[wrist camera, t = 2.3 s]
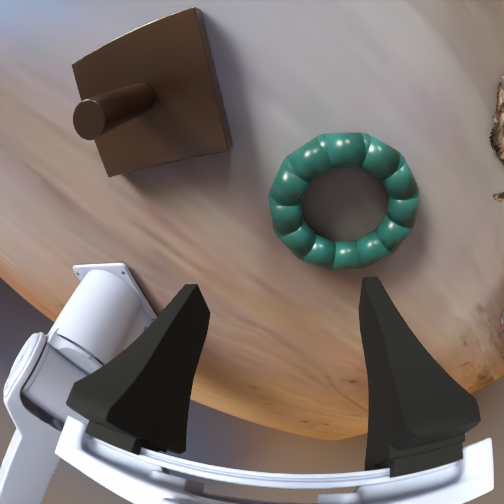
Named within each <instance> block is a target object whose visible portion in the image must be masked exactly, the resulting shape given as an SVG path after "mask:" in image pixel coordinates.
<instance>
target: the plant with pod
mask: <svg viewBox="0 0 504 504" xmlns="http://www.w3.org/2000/svg"><path fill="white" fill-rule="evenodd" d="M502 77H503V76H502ZM503 79H504V77H503ZM498 91H499V92H498V93H497V94H498V96H497V98H498V100H497V104H498V105H496V106H497V109H496V112H495V115H494V117H493V118H494V120H493V122H494V123H495V124H494V126H495V127H494V128H493V129H492V131H493V132H491V133H490V134H492V135H491V136H490V138H491V140H490V142H491V146H492V149H493V148H494V150H496V152H497V154H498V156H499V158H501V159H504V84H503V83H501V82H499V85H498ZM503 163H504V162H503ZM493 197H494V199H495V200H497V201H499V202H501V201H502V200H504V192H502V193H497V194H494V195H493Z"/></svg>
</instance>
